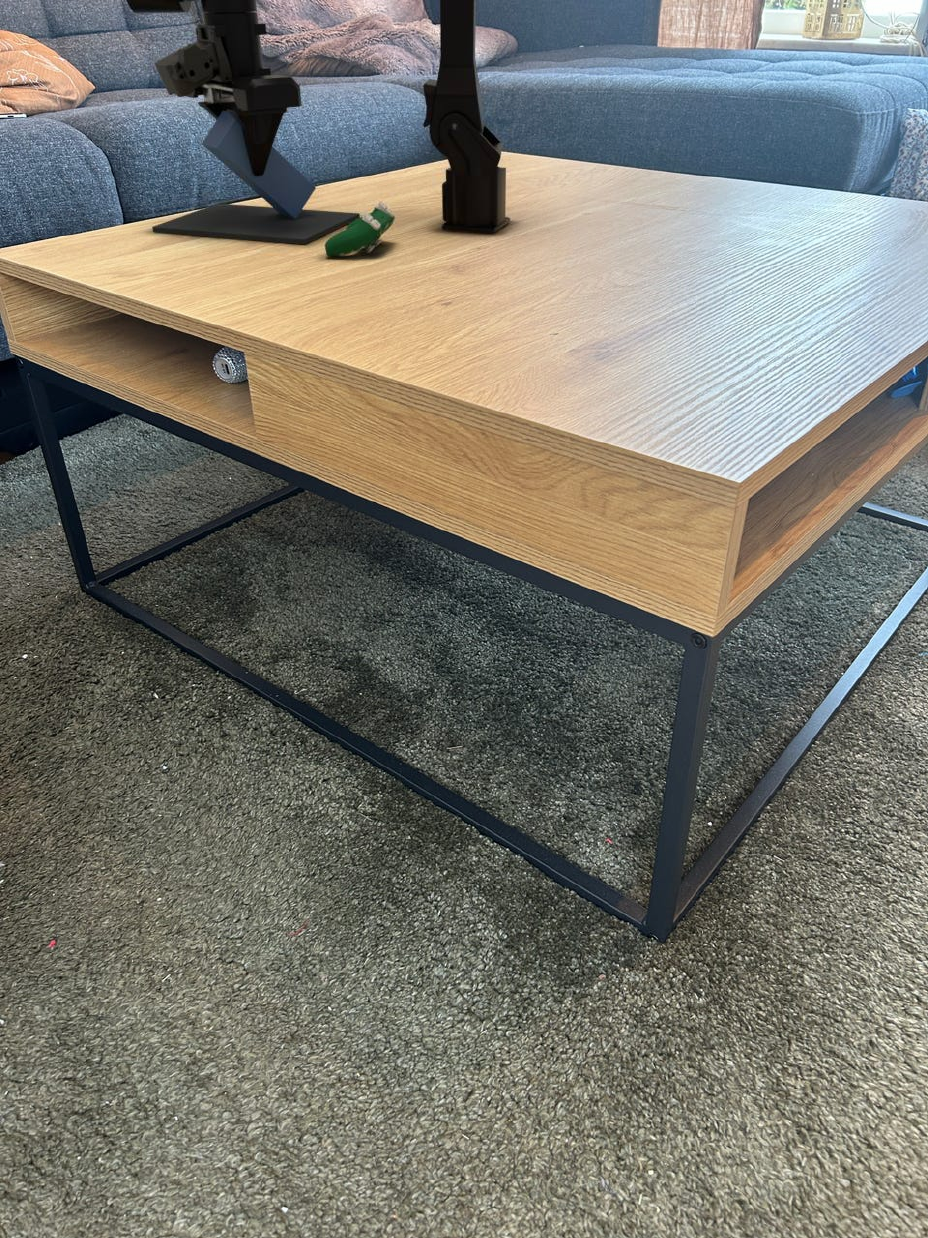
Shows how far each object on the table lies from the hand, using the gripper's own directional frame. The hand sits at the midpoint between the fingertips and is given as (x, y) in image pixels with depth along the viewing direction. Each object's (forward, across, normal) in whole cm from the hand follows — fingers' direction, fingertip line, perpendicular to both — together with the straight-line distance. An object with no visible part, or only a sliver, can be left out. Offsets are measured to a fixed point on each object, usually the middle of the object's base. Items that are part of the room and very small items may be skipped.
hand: (249, 172), depth 110 cm
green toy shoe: (+6, +18, +4) cm, 19 cm away
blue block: (+4, 0, +6) cm, 7 cm away
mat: (+6, 0, 0) cm, 6 cm away
